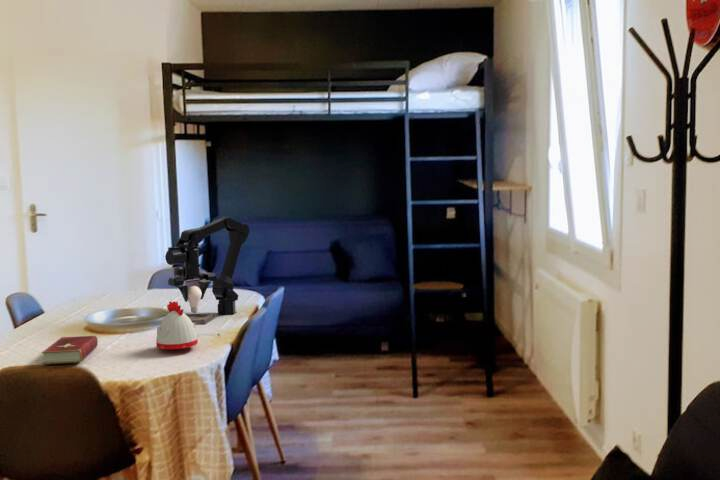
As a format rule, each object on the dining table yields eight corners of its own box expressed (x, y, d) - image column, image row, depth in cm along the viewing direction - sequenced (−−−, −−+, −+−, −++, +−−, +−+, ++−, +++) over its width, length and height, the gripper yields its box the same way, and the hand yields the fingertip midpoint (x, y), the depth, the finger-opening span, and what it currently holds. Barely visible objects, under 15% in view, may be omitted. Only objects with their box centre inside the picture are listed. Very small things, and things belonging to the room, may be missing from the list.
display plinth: (217, 316, 299) (217, 313, 299) (205, 324, 285) (205, 320, 285) (184, 316, 301) (184, 313, 301) (171, 324, 287) (170, 320, 287)
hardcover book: (98, 346, 255) (97, 334, 255) (81, 362, 234) (80, 349, 234) (62, 348, 254) (61, 336, 253) (42, 364, 233) (41, 351, 233)
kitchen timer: (181, 337, 263) (179, 296, 262) (205, 342, 255) (203, 300, 253) (148, 345, 253) (146, 302, 251) (172, 351, 244) (170, 306, 243)
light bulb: (184, 314, 289) (183, 287, 288) (187, 311, 296) (185, 284, 295) (201, 314, 290) (200, 286, 289) (203, 310, 296) (202, 284, 295)
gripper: (202, 257, 303) (204, 294, 304) (160, 262, 290) (162, 301, 292) (216, 259, 294) (218, 298, 296) (173, 265, 282) (176, 305, 284)
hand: (193, 300), depth 292 cm, fingers closed on light bulb, 6 cm apart
